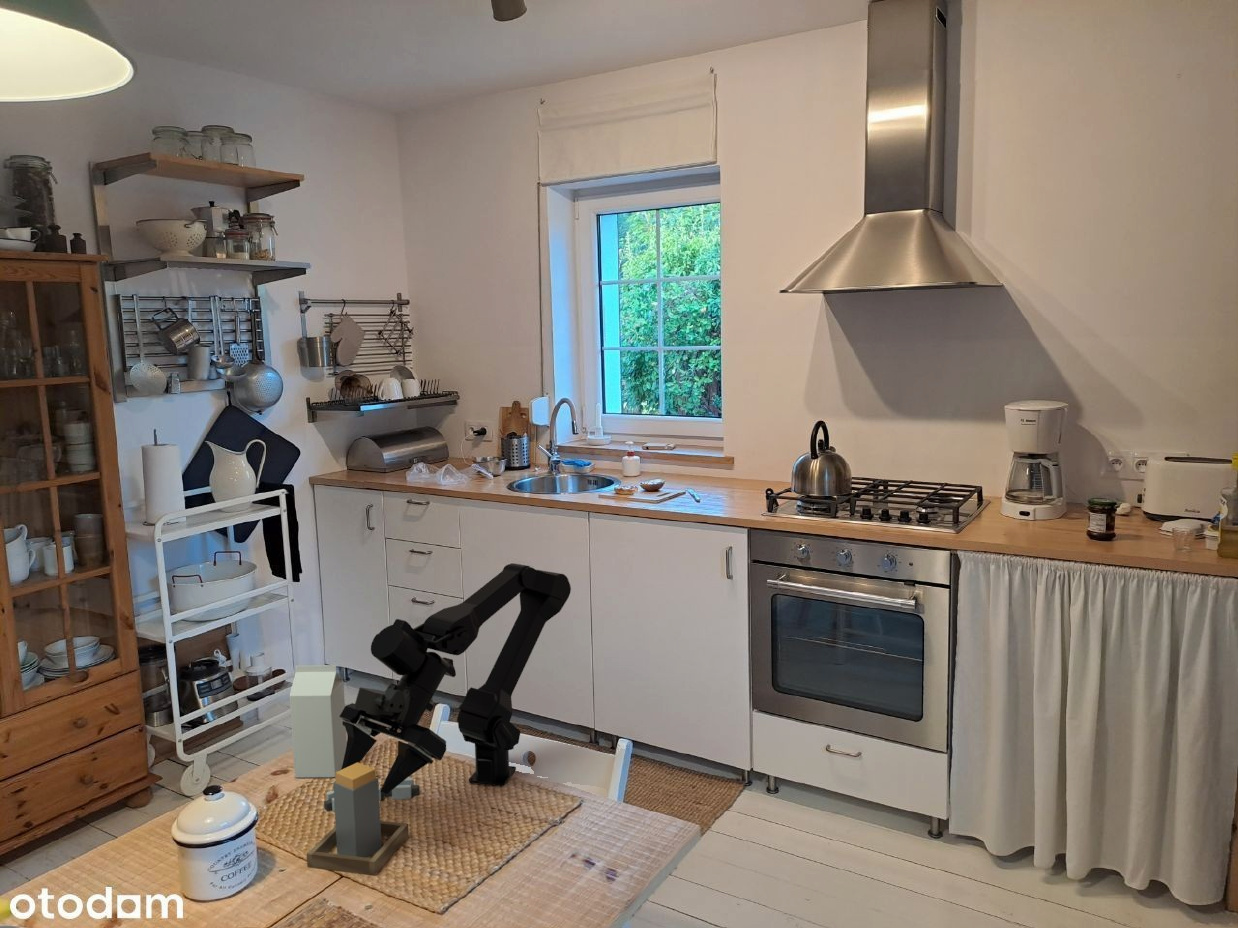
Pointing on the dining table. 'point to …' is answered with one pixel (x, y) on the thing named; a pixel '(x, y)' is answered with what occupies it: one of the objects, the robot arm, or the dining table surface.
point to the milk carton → (317, 721)
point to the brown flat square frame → (352, 863)
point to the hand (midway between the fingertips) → (362, 784)
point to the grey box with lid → (357, 811)
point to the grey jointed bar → (398, 792)
